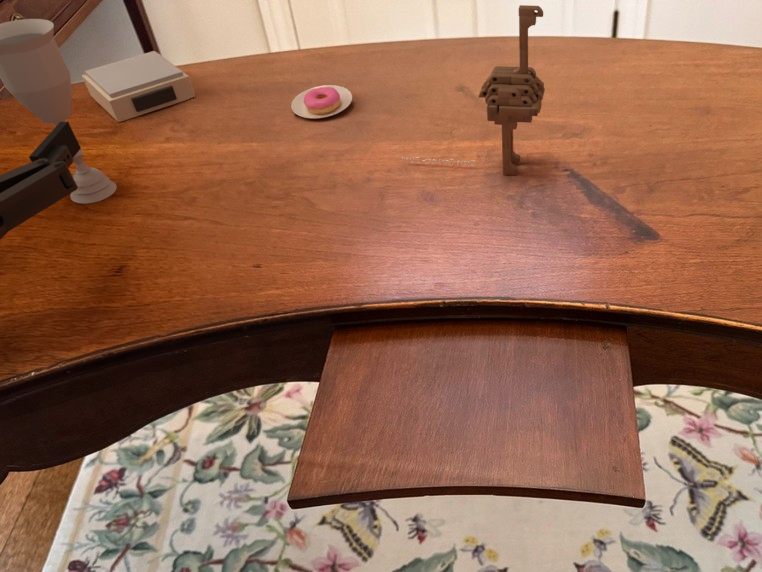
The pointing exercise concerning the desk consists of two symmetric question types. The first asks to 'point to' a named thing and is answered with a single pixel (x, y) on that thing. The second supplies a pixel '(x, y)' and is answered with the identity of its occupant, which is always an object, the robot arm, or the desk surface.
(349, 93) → the donut
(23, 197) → the robot arm
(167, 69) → the scale
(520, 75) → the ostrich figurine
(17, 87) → the chalice
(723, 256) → the desk surface
